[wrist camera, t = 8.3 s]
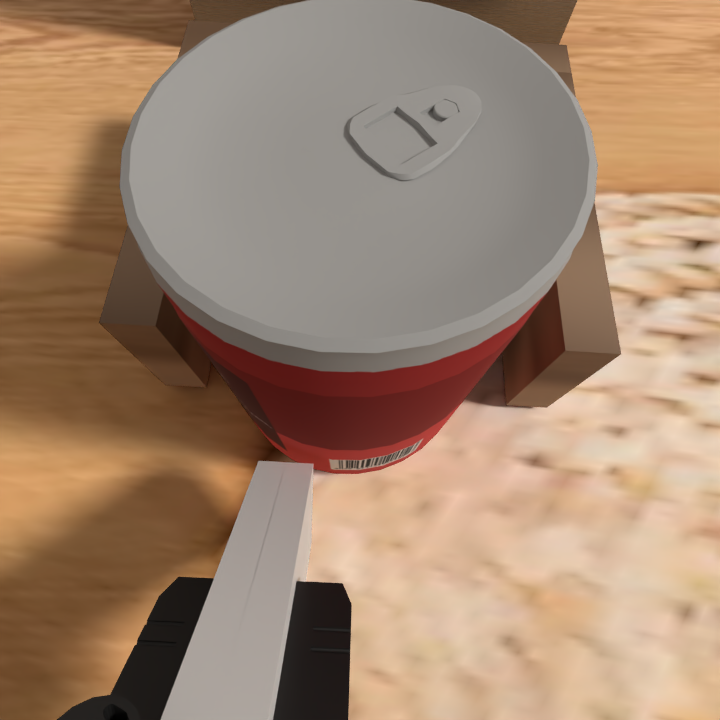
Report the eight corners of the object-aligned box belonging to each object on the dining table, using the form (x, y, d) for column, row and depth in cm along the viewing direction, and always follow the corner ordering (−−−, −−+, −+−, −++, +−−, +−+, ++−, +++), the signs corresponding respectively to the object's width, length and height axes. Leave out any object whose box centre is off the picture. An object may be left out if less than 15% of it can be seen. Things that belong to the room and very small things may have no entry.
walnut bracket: (546, 407, 17) (620, 354, 13) (165, 384, 17) (99, 322, 12) (519, 152, 22) (566, 45, 17) (221, 132, 22) (189, 20, 17)
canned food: (492, 354, 18) (679, 105, 8) (371, 527, 16) (421, 482, 6) (338, 253, 20) (331, -62, 10) (204, 395, 17) (4, 170, 7)
